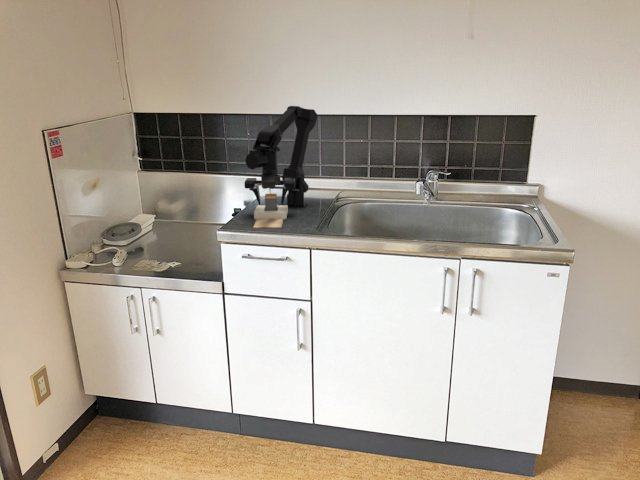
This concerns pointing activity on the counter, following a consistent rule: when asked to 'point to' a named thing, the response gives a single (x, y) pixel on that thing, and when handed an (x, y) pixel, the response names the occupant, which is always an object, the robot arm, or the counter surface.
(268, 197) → the plug
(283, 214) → the block
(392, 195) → the counter surface
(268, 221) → the cork pad
